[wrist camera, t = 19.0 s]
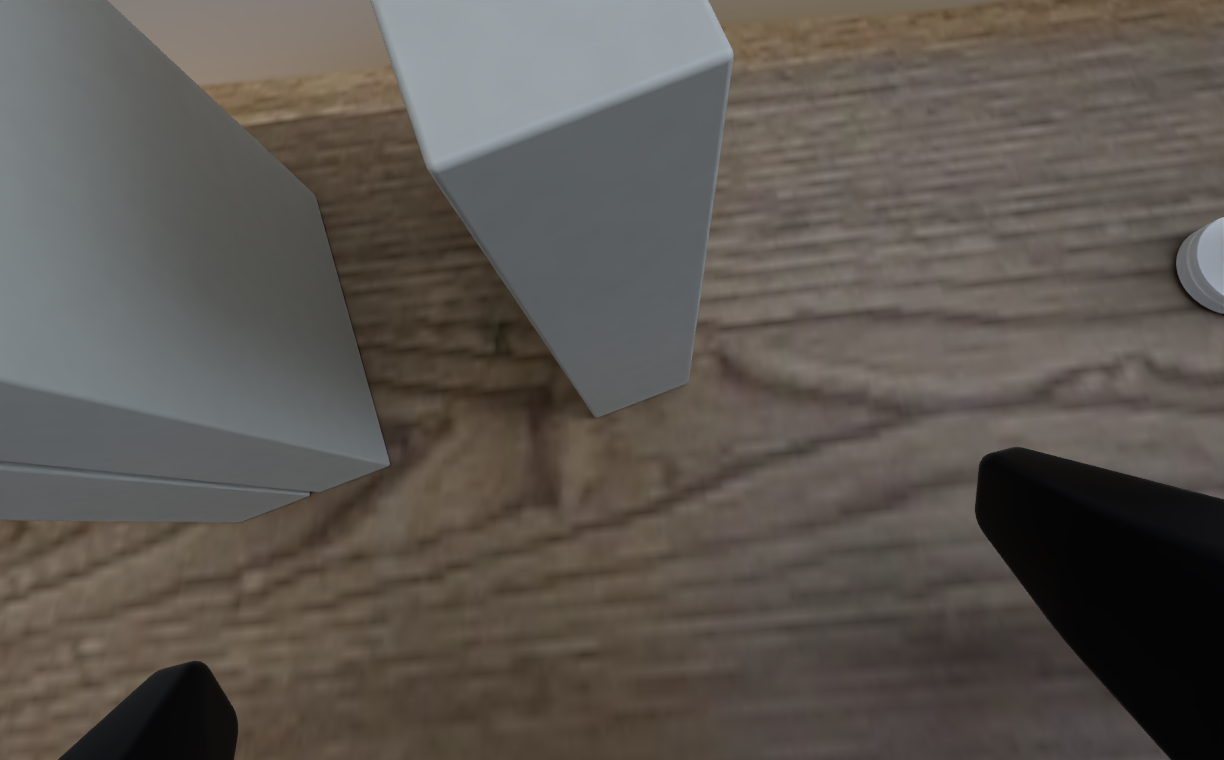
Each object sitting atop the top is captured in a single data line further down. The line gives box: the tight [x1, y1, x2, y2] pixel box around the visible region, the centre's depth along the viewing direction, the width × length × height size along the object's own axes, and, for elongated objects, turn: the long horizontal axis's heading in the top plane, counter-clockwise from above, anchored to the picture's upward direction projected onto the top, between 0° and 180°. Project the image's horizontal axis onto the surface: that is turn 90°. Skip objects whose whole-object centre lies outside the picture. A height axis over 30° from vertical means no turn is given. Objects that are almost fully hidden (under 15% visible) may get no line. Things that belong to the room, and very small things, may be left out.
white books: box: [0, 0, 390, 523], centre depth 13 cm, size 9×5×13 cm, turn 20°
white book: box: [370, 0, 733, 418], centre depth 13 cm, size 9×3×13 cm, turn 20°
